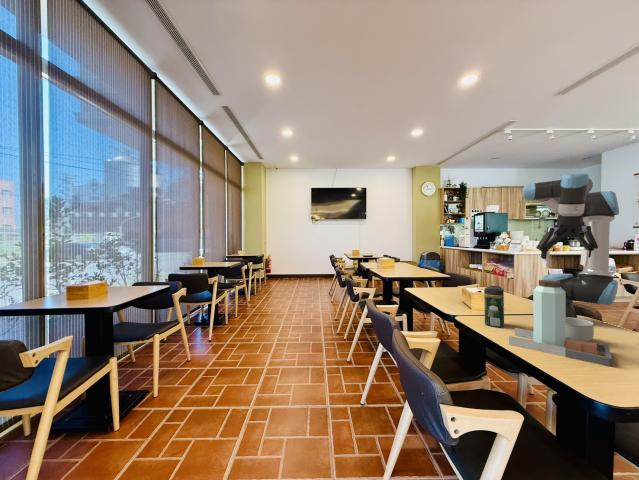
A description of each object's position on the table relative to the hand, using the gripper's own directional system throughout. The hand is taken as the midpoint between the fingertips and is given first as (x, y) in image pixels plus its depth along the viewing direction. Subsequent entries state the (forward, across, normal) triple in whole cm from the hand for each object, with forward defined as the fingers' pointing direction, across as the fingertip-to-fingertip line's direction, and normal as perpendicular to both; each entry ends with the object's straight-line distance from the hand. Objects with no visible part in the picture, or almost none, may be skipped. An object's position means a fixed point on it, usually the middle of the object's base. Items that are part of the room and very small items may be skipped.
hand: (564, 265), depth 113 cm
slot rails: (+27, -15, -15) cm, 34 cm away
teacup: (+30, +3, -6) cm, 31 cm away
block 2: (+26, -3, -22) cm, 34 cm away
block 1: (+26, -7, -21) cm, 34 cm away
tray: (+25, -4, -22) cm, 34 cm away
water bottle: (+27, -12, -17) cm, 34 cm away
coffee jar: (+33, -21, +9) cm, 40 cm away
